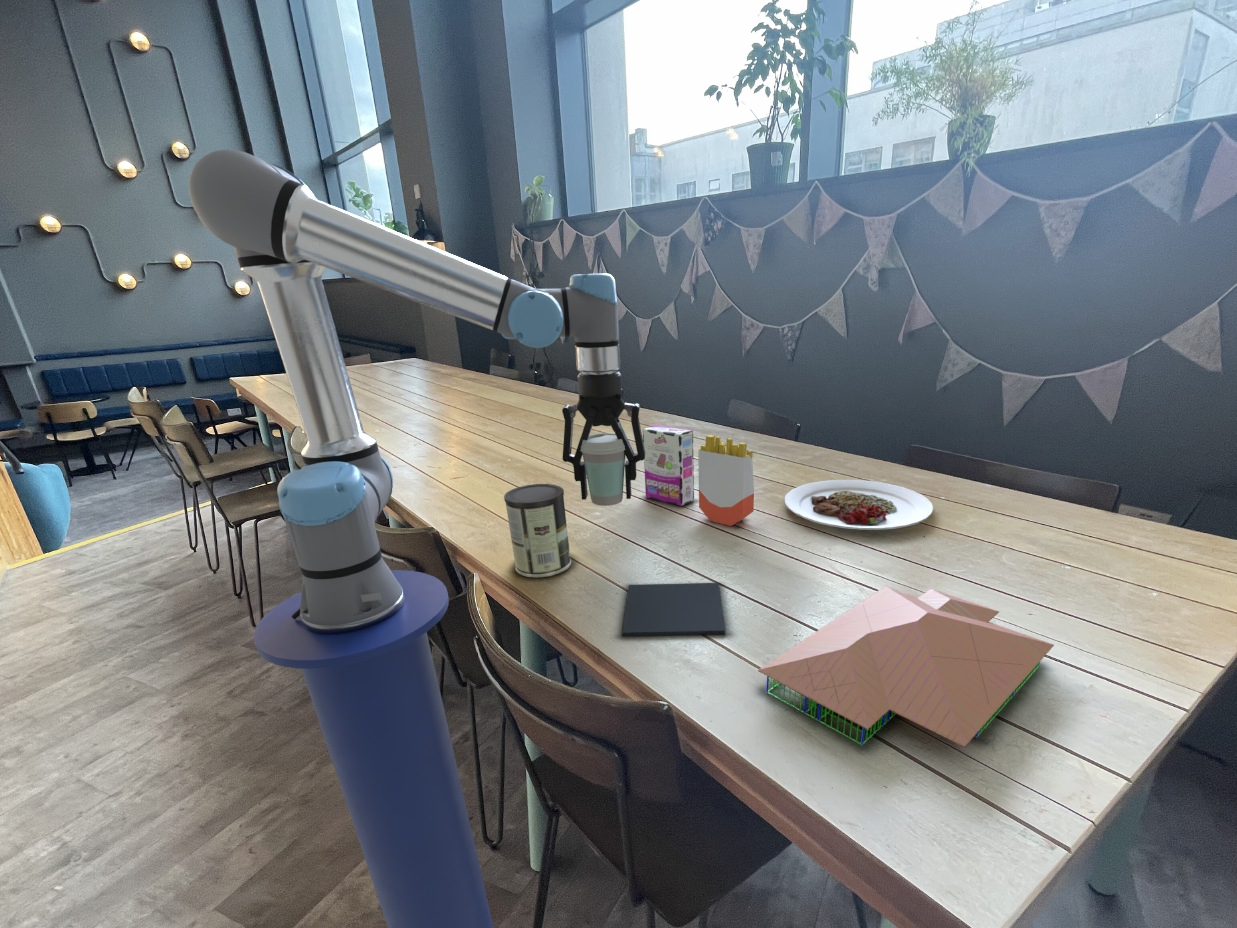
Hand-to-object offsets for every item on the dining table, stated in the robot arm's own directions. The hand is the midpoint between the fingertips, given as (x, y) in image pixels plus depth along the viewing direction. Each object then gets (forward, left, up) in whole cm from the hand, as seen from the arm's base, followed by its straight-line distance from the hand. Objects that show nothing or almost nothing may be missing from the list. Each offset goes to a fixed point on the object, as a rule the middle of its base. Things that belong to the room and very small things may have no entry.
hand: (606, 496), depth 115 cm
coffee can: (-12, -8, -10) cm, 18 cm away
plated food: (+51, +16, -10) cm, 55 cm away
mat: (+12, -25, -10) cm, 30 cm away
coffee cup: (0, 0, -1) cm, 1 cm away
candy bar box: (+11, +26, -10) cm, 30 cm away
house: (+43, -43, -10) cm, 61 cm away
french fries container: (+23, +12, -10) cm, 28 cm away
